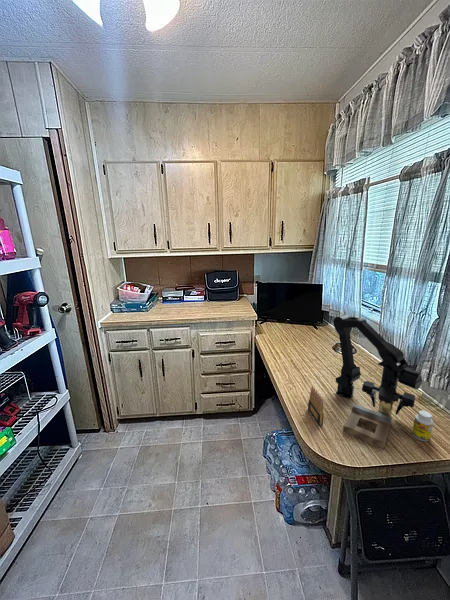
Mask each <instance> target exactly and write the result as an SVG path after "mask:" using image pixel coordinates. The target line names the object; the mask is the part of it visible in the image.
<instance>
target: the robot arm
mask: <svg viewBox="0 0 450 600" xmlns="http://www.w3.org/2000/svg"><path fill="white" fill-rule="evenodd" d="M332 323H333V328H334V330H335V332H336V333H337V334H338V336H339V337H338V339H339V344H340V351H341V357H342V359H341V360H342V365H341V366H342V367H341V369H340V376H338V377H336V378H335V383H336V384H337V390H336V393H335V394H336V395H338V396H341V397H345V398H348V399H351V397H352V396H353V395H354V394H355V393H354V392H355V386H354V383H355V382H356V381H358V380H359V379H360V378H361V375H362V373H361V367H360V366H357V365H356V363H355V360H354V353H353V346H352V339H351V338H352V337H351V332H352V330H353V329H357V330H358V331H359V332H360V333H361V334H362V335H363V336H364V337H365V339H367V340H368V341H369V343H370V344H372V346H374V347H375V348H376V350H377V353H378V355H379V357H380V359H382V361H379V362H378V363H377V365H378V366H381V367H382V373H381V381H380V384H379V386H375V384H376V383H375V382H371V381H368V380H365V381H364V382H363V384H362V386H361V391H362V392H363V393H366V395H368V396H369V397H370V399H371V403H372V407H373V408H376V403H377V393H378V400H379V402H380V401H384V402H387V403H390V404H391V403H392V401H393V403H395V402H396V403H398V404H397V407H396V410H395V416H397V415H398V414H399V412H400V411H401V410H402V409H403V408H404V407H406V408H408V407H410V408H414V406H415V400H416V396H415V395H414V394H412V393H408V392H403V394H401V393H399V392H397V390H398V389H397V387H398V384H402V385H403V386H406V387H409V388H411V389H413V390H415V391H417V390H419V389H420V388H421V386H422V384H423V377H422V375H421V372H419V371H417V370H413V369H410V368H409V364H408V363H407V361H406V358H405V357H404V356H405V354H404V352H403V351H402V350H401V349H400V348H398V347H397V346H396V345H393V344H391V343H390V342H388V341H386V339H384V337H382V336H381V335H380V334H379V333H378V332H377V330H375V329H374V328H373V327H372V326H371V324H369V323H368V322H367V320H366V318H363V317H360V318H359V317H356V316H350V315H348V314H344V315H340V316H337V317H335V318H334V319H333V320H332ZM352 328H353V329H352Z"/></svg>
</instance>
